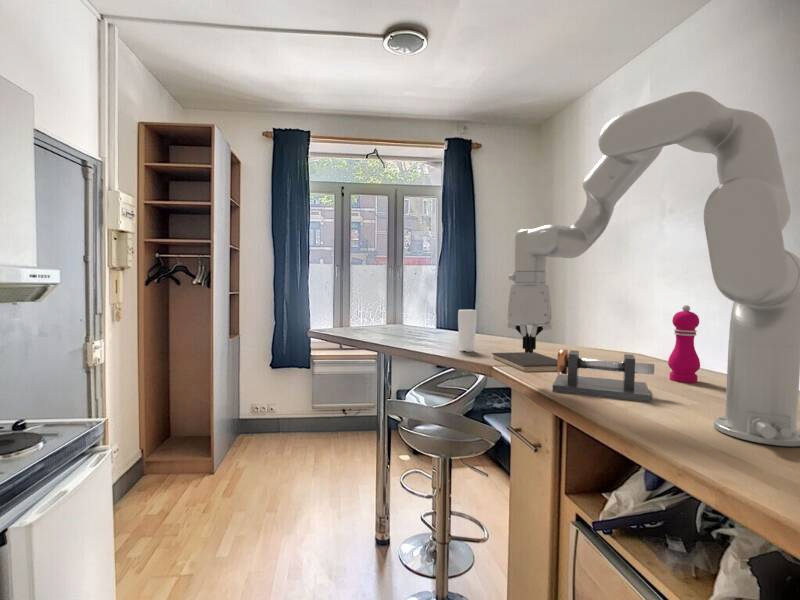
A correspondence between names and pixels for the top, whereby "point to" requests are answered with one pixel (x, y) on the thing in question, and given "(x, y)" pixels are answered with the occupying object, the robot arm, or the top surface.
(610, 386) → the stand
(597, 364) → the shaft
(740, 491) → the top surface
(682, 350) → the pepper mill
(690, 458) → the top surface
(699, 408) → the top surface
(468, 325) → the drinking glass
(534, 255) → the robot arm
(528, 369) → the hardcover book
